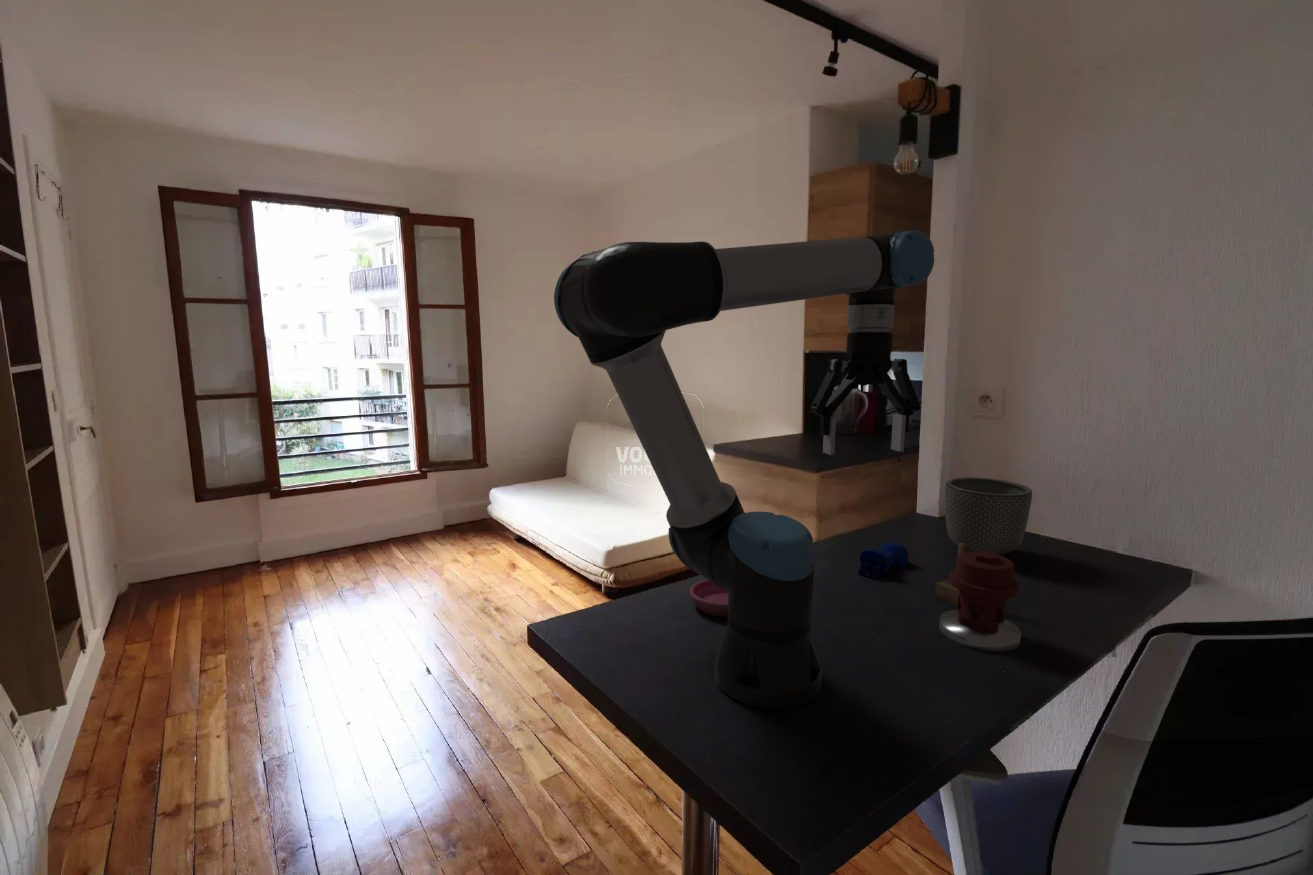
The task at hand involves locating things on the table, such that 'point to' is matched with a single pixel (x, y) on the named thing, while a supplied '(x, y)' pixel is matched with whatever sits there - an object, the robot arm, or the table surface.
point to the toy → (882, 559)
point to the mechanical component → (983, 588)
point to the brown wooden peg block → (945, 588)
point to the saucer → (710, 598)
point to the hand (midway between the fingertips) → (863, 452)
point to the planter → (987, 513)
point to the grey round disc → (980, 634)
